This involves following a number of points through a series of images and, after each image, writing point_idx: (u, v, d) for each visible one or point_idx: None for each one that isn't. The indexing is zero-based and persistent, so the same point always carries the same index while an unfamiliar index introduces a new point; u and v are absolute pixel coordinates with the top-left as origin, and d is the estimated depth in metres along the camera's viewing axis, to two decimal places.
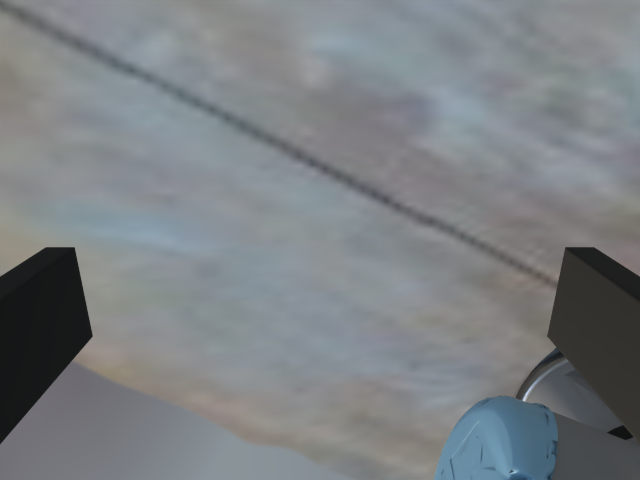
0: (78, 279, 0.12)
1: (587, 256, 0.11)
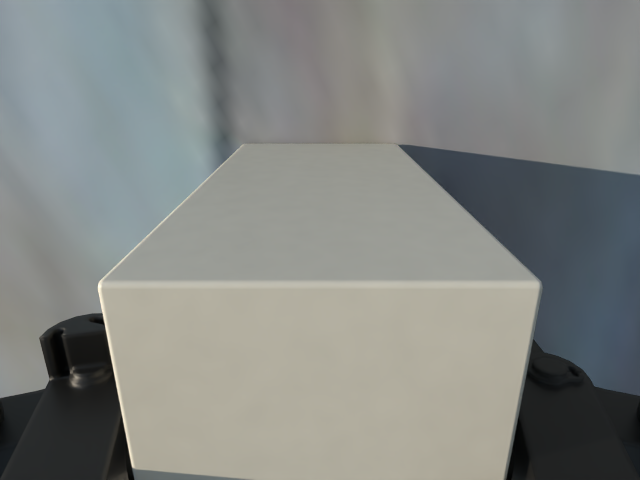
0: None
1: None
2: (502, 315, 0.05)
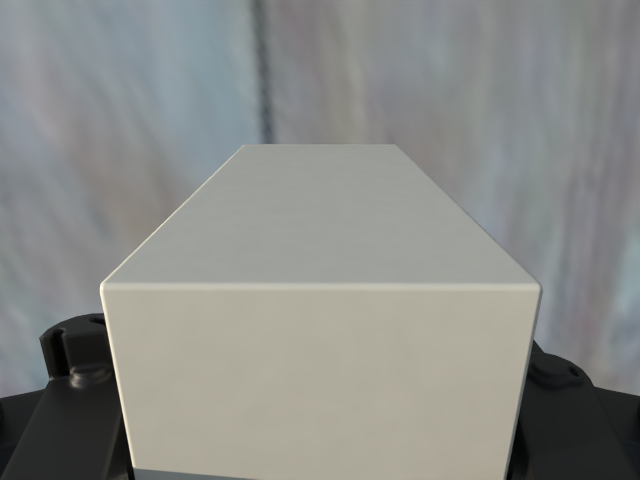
0: None
1: None
2: (502, 316, 0.05)
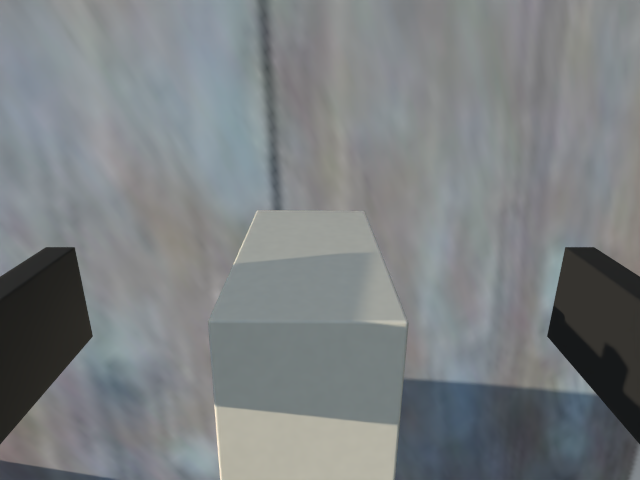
0: (78, 279, 0.12)
1: (587, 256, 0.11)
2: (390, 336, 0.10)
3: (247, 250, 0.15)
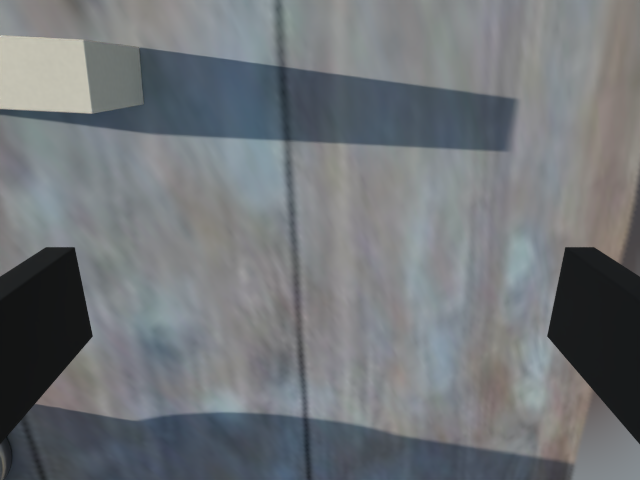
0: (77, 279, 0.12)
1: (587, 256, 0.11)
2: (86, 107, 0.31)
3: (114, 47, 0.33)
